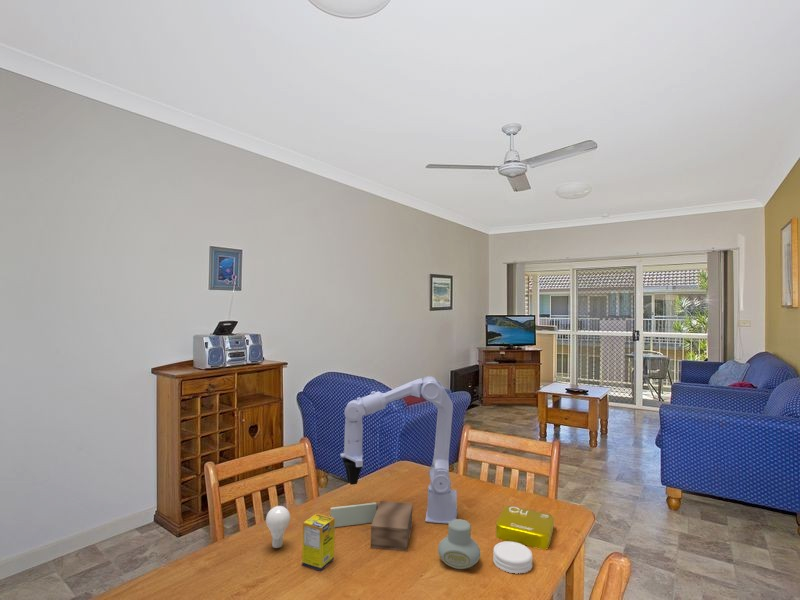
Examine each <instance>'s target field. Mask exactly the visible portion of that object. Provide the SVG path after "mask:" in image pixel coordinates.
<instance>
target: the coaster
mask: <svg viewBox="0 0 800 600" xmlns="http://www.w3.org/2000/svg"><path fill="white" fill-rule="evenodd" d="M492 556H493V557H492V558H493V559H492V561H493V564H494V565H495V567H497V568H498V569H499V568H500V569H499V570H501V571H503V572H505V571H506V573H508V572H509V574H512V573H515V574H514V575H521V574H520V573H524V574H526V572H527V573H529V572H530V571H531V570H532V568H533V552H532V550H531V549H530V548H528V546H525V545H522V544H520V543H516V542H510V541H500V542H498V543H496V544H495V545H494V546H493V554H492ZM528 571H529V572H528ZM518 573H519V574H518Z"/></svg>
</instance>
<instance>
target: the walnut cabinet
mask: <svg viewBox="0 0 800 600" xmlns="http://www.w3.org/2000/svg"><path fill="white" fill-rule="evenodd" d="M412 525H413V503H411V502H410V503H409V502H398V501H397V502H396V501H388V500H387V501H385V500H380V501H379V504H378V509H377V511H376V514H375V517H374V519H373V522H371V525H370V549H378V550H388V551H389V550H390V551H401V552H407V551H408V547H409V546H408V545H409V541H410V536H411V532H412V531H411V530H412Z"/></svg>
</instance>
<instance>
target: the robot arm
mask: <svg viewBox="0 0 800 600" xmlns="http://www.w3.org/2000/svg"><path fill="white" fill-rule="evenodd" d="M408 396H414V397H416V398H420V397H421V396H422V398H423V399H425V400H426V401H428V402H430V403H431V404H433V405H434V406H435V408H437V415H436V427H435V428H436V429H435V439H434V441H435V442H434V448H433V449H434V450H433V457H432V464H431V466H430V468H429V470H428V477H429V479H430V483H429V484H428V486H427V509H426V513H425V514H426V515H425V522H426V523H433V524H434V523H435V524H447V525H448V524H449V522H450V521H452V520H455V519H457V516H458V515H459V514H458V512H459V511H458V508H457V507H458V504H457V503H458V501H457V500H458V491H457V489H452V488H451V487H452V480H451V478H450V466H449V465H450V463H449V457H450V447H451V436H452V435H451V434H452V422H453V412H454V411H453V410H454V404H453V402H452V399H451V398H450V396H449V394H448V393H447V391H446V389H445V387H444V386H443V384H442V382H441V381H439V379H437V378H436V377H434V376H431V375H427V376H425V377H423V378H422V377H421V378H418V379H415V380H411V381H409V382H406V383H405V384H402V385H400V386H398V387H395V388H393V389H391V390H389V391H386V392H381V391H376V390H373V391H370V394H369V395H365V396H363V397H361V396H359V397H357V398H356V399H352V400H351V401H349V402H348V403H347V404H346V406H345V407H344V413H343V414H344V417H345V419H344V420H345V421H344V422H345V424H344V441H343V443H344V447H343V452H342V453H340V457H341V460H342V462H343V465H344V468H345V472H346V474H345V475H346V478H347V482H349V484H350V485H351V486H352V485H358V481H359V478H360V473H361V471H362V469H363V467H364V465H365V462H364V460H363V458H364V457H363V456H364V453H363V438H364V437H363V432H364V430H363V429H364V424H363V416H369V415H371V414H374V413H377V412H380V411H381V410H384V409H385V408H386V407H387V405H388V404H389V403H391V402H394V401H397V400H400V399H403V398H406V397H408Z"/></svg>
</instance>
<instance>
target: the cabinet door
mask: <svg viewBox="0 0 800 600" xmlns="http://www.w3.org/2000/svg"><path fill="white" fill-rule="evenodd" d="M378 506H379V504H378V503H377V502H369V503H361V504H358V503H357V504H352V505H342V506H341V505H340V506H334V507H330V509H329V511H330V512H329V513H330V514H329V517H332V518H335V528H339V527H345V526H356V525H361V524H372V522H373V519H374V517H375V514H376V511H377V509H378Z"/></svg>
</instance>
